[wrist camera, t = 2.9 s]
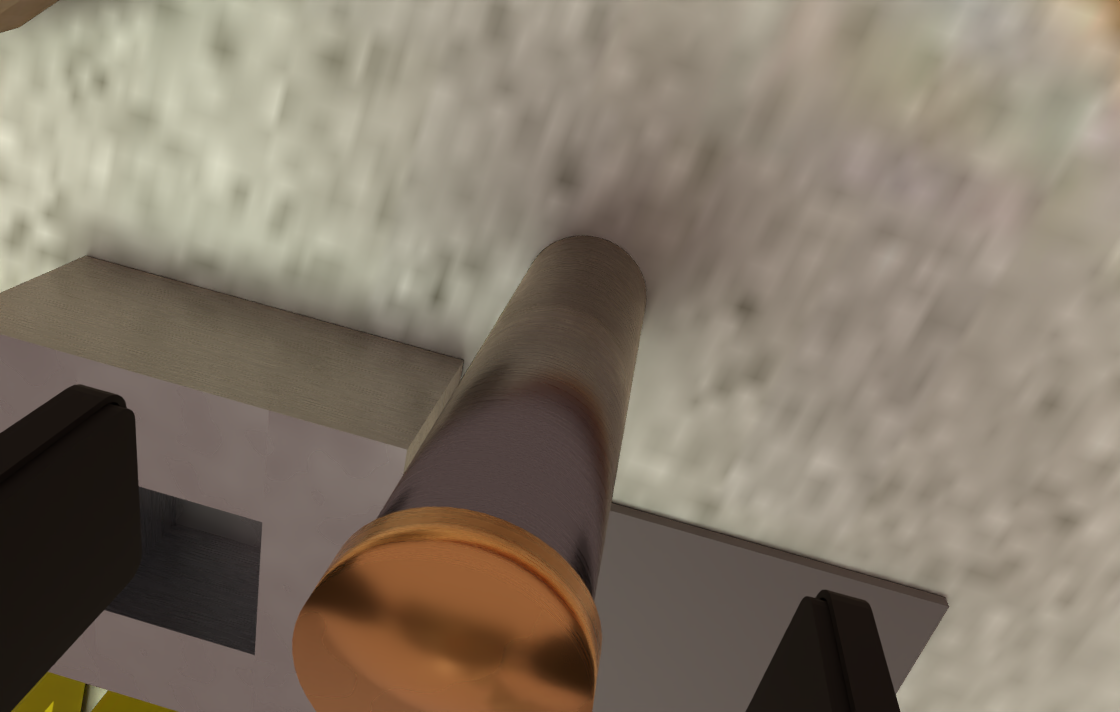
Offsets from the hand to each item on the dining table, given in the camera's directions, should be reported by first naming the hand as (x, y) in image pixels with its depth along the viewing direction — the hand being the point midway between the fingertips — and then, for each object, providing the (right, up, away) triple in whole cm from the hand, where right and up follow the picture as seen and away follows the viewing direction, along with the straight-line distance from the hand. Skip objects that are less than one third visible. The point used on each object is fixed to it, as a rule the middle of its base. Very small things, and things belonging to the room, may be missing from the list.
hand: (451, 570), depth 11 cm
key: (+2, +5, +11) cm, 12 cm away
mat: (+7, -7, +15) cm, 18 cm away
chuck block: (-12, 0, +16) cm, 20 cm away
